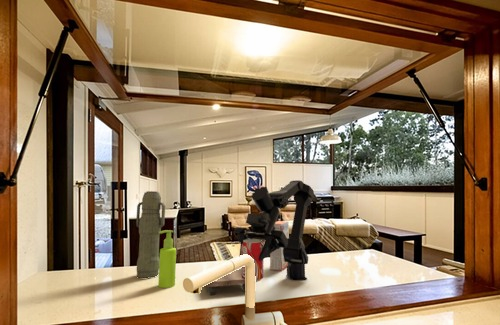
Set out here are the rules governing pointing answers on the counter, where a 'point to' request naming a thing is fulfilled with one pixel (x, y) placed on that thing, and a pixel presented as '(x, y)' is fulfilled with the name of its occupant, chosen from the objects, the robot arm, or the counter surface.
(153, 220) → the thermos
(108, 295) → the counter surface
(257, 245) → the soda can
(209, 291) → the tan square tray
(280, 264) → the cracker box
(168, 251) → the soap dispenser
